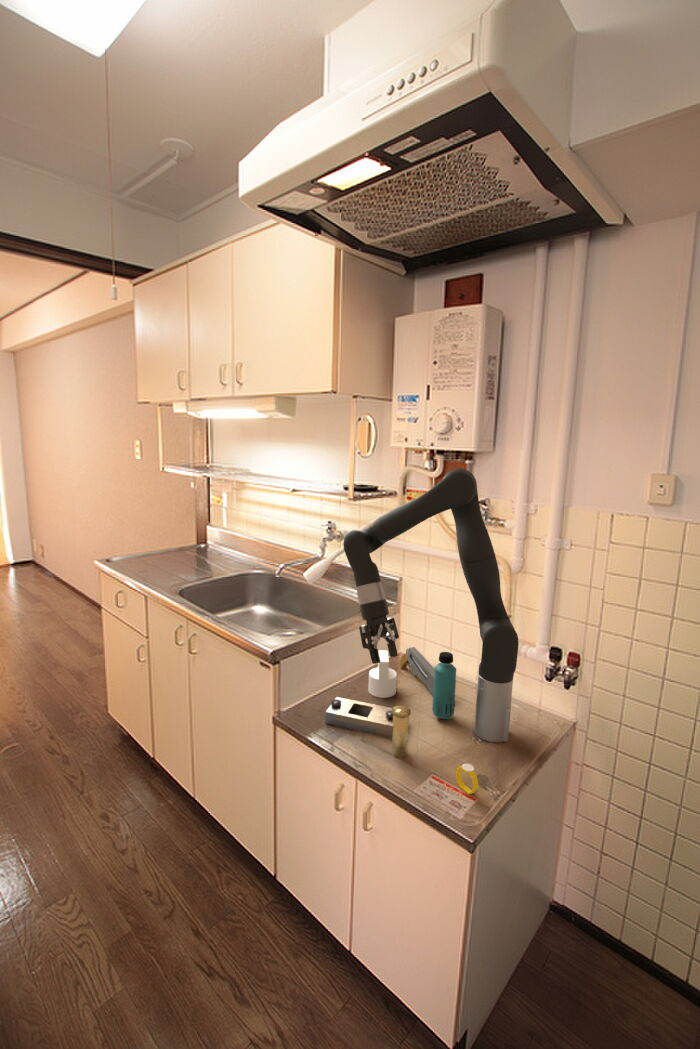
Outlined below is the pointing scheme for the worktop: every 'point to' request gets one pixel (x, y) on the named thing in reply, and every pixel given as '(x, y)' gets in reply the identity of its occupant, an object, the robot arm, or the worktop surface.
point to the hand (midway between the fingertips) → (385, 659)
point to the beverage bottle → (444, 687)
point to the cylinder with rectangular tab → (382, 678)
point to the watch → (470, 770)
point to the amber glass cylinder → (400, 730)
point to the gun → (419, 667)
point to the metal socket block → (360, 716)
